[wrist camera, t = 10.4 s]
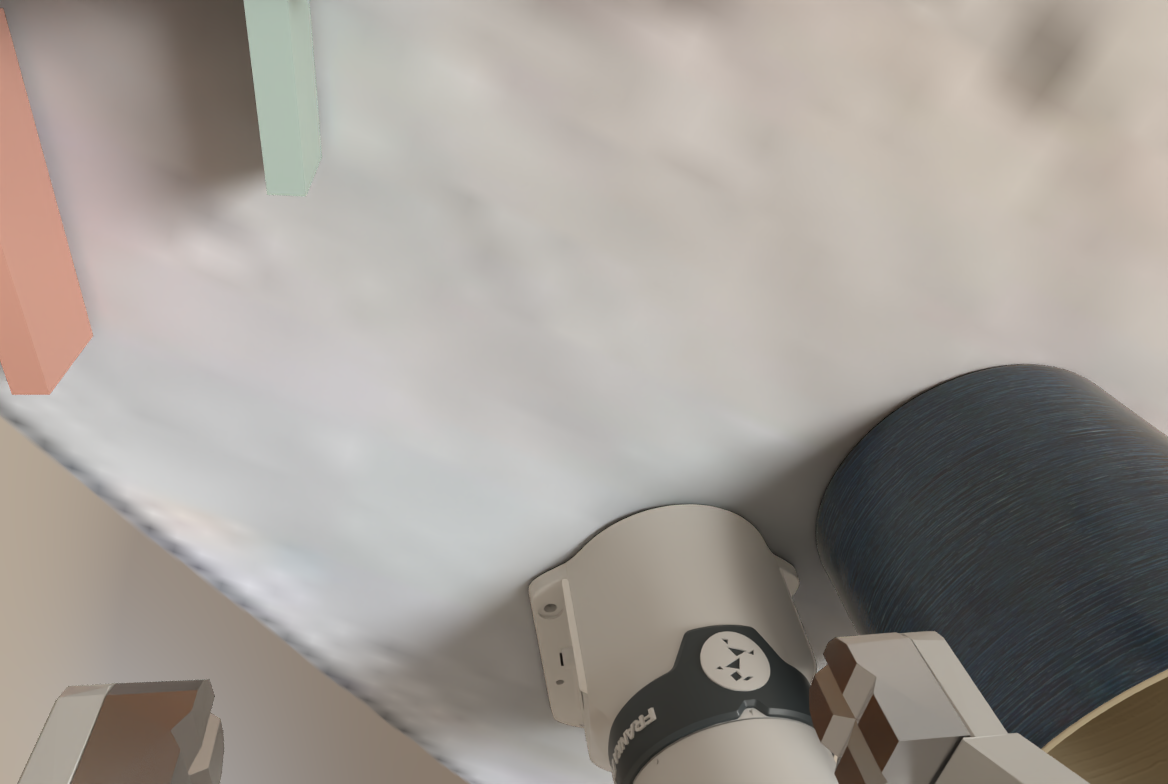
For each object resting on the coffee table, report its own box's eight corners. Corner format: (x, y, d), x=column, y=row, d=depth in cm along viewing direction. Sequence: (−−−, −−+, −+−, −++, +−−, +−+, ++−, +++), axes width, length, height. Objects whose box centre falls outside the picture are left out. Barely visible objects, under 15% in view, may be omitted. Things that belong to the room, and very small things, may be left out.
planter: (960, 631, 62) (1150, 907, 45) (744, 563, 53) (882, 872, 37) (1185, 424, 53) (1527, 677, 36) (967, 301, 44) (1285, 558, 28)
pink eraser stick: (93, 335, 36) (49, 394, 32) (60, 335, 36) (12, 394, 32) (3, 7, 29) (-69, 30, 25) (-40, 4, 29) (-119, 26, 25)
